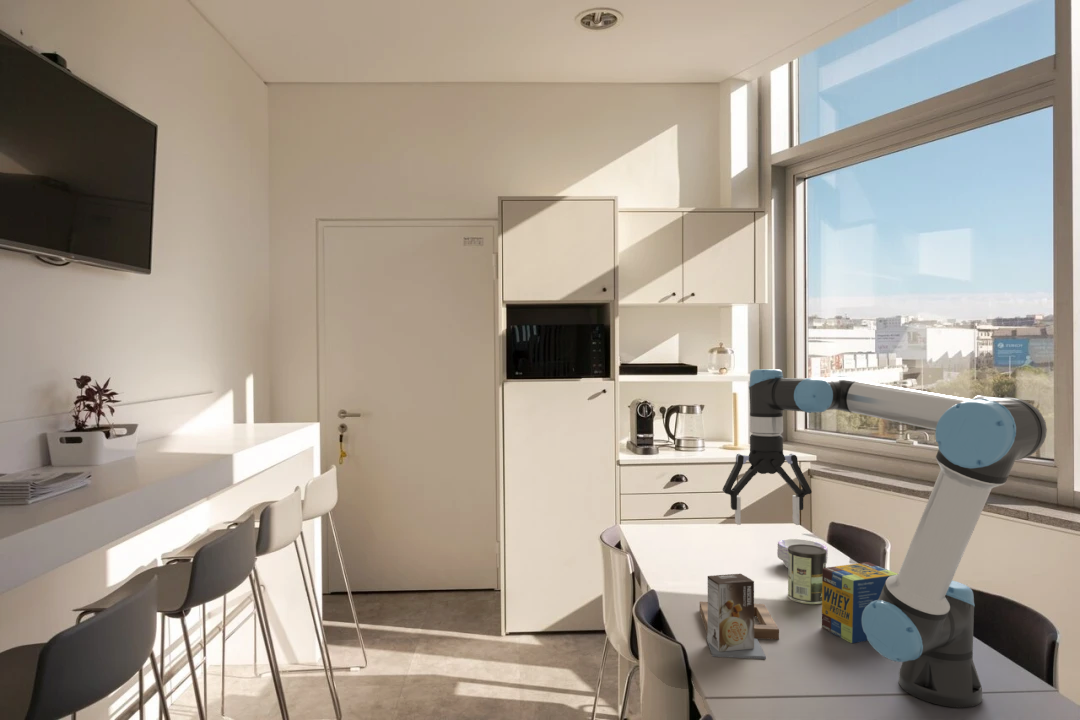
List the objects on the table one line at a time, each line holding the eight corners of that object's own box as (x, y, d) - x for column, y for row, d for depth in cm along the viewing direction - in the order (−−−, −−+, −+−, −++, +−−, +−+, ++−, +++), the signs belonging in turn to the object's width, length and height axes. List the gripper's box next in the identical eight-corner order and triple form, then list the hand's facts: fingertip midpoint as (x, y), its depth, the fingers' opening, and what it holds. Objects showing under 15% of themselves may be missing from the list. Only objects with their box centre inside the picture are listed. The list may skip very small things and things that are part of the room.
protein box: (820, 628, 181) (821, 567, 181) (867, 620, 187) (868, 561, 187) (851, 644, 172) (852, 580, 171) (900, 635, 177) (901, 573, 177)
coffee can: (822, 593, 207) (822, 545, 207) (829, 606, 197) (829, 555, 197) (784, 590, 209) (785, 542, 209) (789, 603, 199) (790, 552, 199)
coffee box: (741, 638, 173) (742, 572, 173) (754, 649, 167) (755, 581, 166) (706, 641, 171) (707, 575, 171) (718, 652, 165) (719, 583, 164)
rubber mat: (765, 659, 163) (765, 656, 163) (712, 656, 164) (712, 653, 164) (757, 641, 173) (757, 638, 173) (706, 638, 174) (706, 636, 174)
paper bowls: (838, 572, 226) (838, 547, 226) (800, 578, 220) (800, 552, 220) (803, 559, 240) (804, 535, 240) (767, 564, 234) (767, 540, 234)
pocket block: (778, 639, 174) (779, 629, 174) (707, 636, 176) (708, 626, 176) (764, 613, 191) (764, 604, 191) (699, 610, 193) (699, 601, 193)
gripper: (814, 432, 172) (815, 520, 172) (710, 432, 174) (710, 519, 174) (825, 435, 165) (825, 527, 165) (716, 435, 166) (716, 526, 166)
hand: (766, 523), depth 169 cm, fingers open, 13 cm apart
